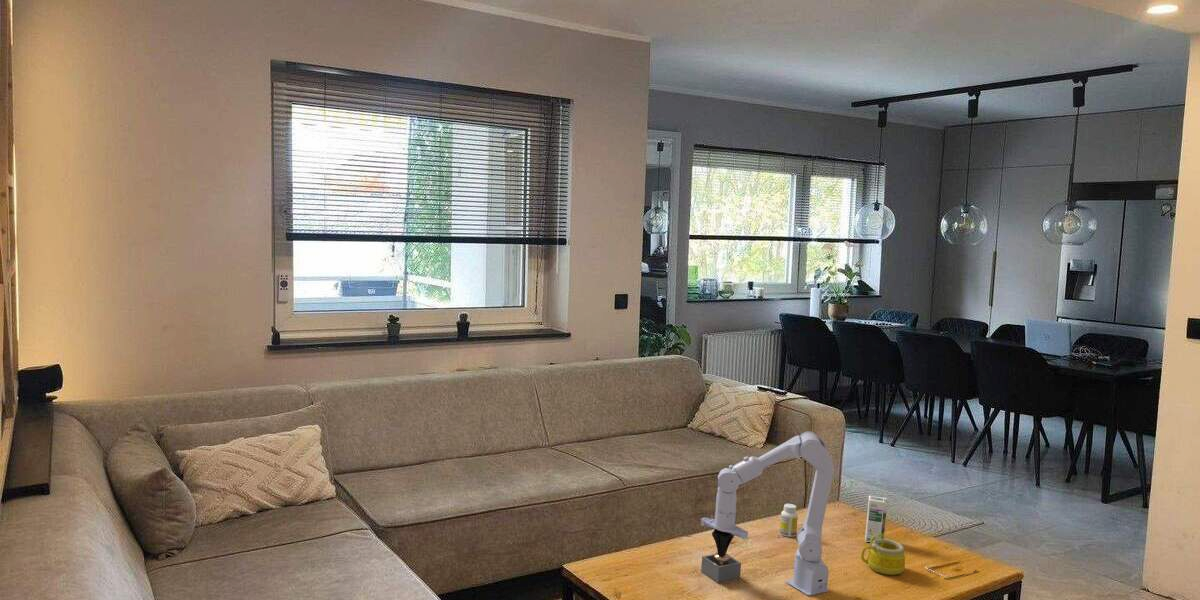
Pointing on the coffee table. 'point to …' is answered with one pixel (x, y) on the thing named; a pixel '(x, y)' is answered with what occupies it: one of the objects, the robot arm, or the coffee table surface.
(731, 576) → the open grey square tray
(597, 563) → the coffee table surface
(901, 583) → the coffee table surface
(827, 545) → the coffee table surface
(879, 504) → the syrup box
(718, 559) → the plunger
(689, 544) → the coffee table surface
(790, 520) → the supplement bottle
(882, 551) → the mug
